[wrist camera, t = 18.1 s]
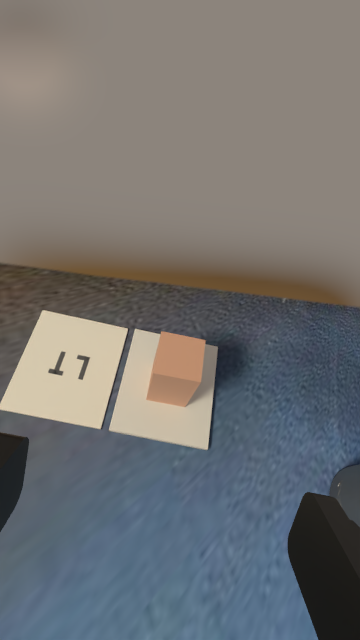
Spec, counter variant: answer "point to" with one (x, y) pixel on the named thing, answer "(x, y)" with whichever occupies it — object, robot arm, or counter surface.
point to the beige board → (158, 417)
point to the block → (176, 369)
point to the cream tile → (66, 370)
